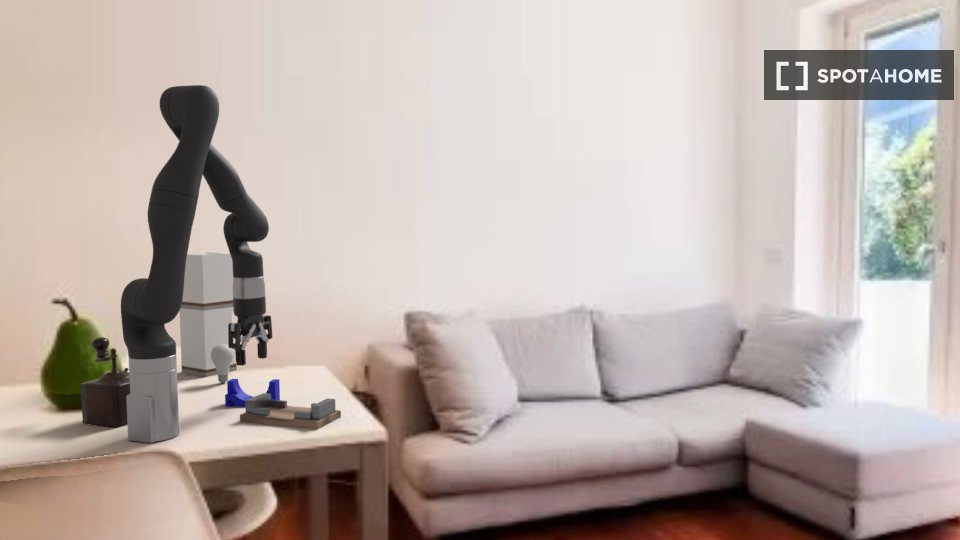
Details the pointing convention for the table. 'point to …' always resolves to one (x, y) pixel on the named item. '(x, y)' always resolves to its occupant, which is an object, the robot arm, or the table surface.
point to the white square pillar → (205, 311)
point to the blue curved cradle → (238, 396)
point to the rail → (289, 412)
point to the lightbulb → (222, 360)
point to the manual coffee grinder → (106, 392)
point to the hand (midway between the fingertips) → (252, 361)
